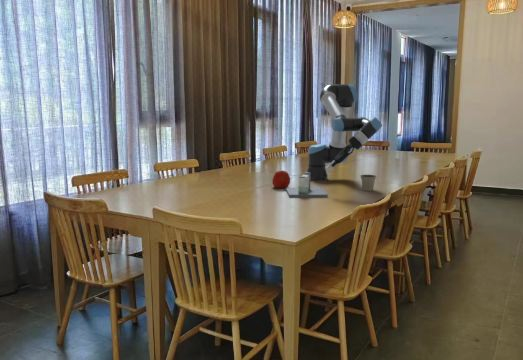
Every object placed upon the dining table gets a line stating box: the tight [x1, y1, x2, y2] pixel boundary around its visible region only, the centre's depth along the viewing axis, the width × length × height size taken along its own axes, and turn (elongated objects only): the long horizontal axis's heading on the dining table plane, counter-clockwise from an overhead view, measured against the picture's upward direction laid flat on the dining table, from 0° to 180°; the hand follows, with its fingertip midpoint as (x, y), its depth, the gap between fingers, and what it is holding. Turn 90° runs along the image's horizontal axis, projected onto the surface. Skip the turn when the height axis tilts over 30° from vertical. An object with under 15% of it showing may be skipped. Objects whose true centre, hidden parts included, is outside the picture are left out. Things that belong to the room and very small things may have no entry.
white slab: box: [298, 171, 311, 192], centre depth 257 cm, size 16×4×9 cm, turn 163°
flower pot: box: [359, 174, 377, 192], centre depth 267 cm, size 9×9×9 cm
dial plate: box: [285, 185, 328, 198], centre depth 256 cm, size 22×21×6 cm
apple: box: [272, 170, 291, 189], centre depth 274 cm, size 11×11×11 cm
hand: (327, 169), depth 253 cm, fingers closed
